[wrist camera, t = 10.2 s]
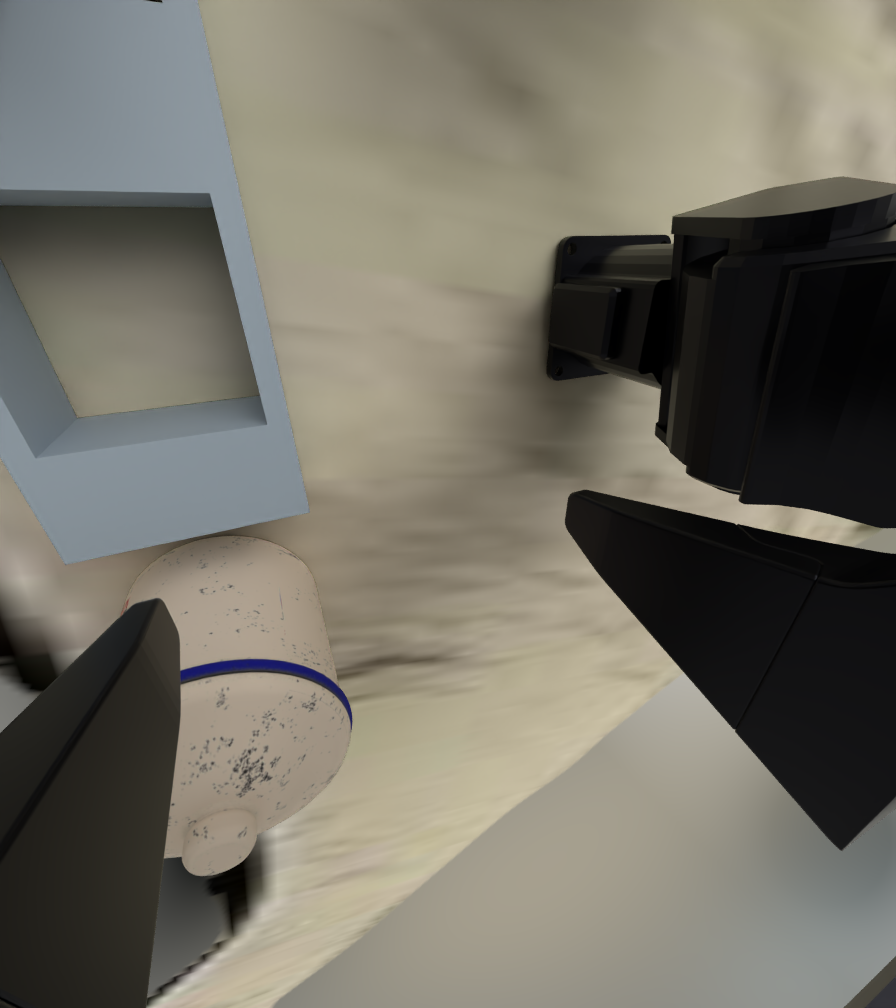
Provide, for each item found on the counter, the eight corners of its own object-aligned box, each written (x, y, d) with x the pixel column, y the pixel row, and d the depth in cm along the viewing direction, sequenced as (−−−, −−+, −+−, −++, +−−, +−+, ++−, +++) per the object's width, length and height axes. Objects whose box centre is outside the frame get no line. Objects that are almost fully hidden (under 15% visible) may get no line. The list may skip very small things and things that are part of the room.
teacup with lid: (73, 573, 18) (-102, 900, 9) (284, 500, 20) (320, 703, 11) (206, 722, 25) (185, 999, 16) (355, 655, 27) (415, 864, 18)
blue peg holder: (-555, -760, 6) (-1368, -1796, 3) (89, -476, 9) (2, -888, 6) (97, 508, 17) (65, 564, 14) (299, 471, 20) (309, 512, 17)
